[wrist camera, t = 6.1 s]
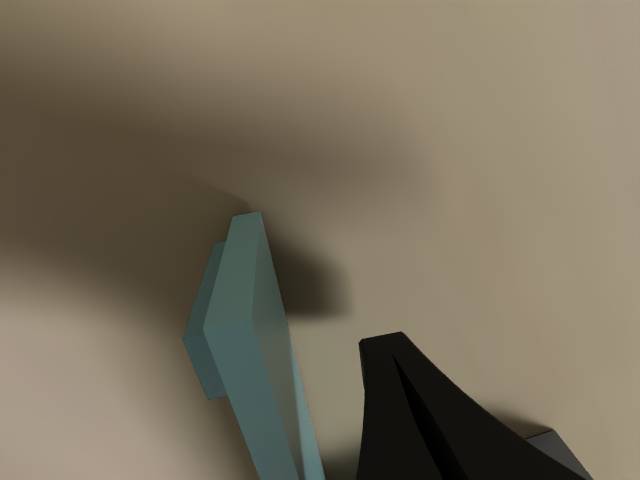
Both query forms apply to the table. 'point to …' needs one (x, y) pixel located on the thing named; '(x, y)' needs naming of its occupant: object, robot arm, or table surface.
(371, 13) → the table surface
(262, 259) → the door
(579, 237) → the table surface
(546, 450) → the block
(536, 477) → the robot arm
